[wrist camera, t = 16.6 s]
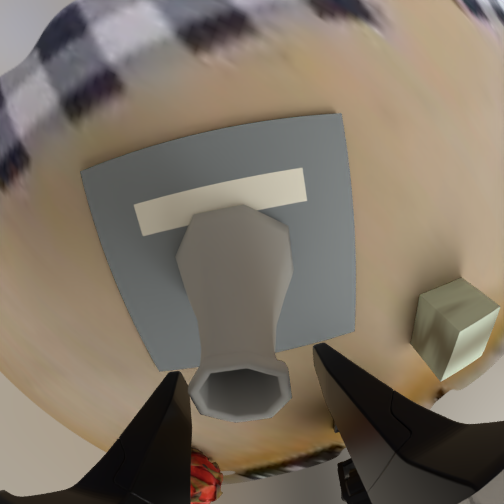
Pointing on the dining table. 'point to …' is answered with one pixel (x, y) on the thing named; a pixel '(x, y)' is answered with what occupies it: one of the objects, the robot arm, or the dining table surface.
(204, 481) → the dragon fruit
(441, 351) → the sage block
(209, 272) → the flask
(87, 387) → the dining table surface
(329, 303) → the board
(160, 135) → the dining table surface
